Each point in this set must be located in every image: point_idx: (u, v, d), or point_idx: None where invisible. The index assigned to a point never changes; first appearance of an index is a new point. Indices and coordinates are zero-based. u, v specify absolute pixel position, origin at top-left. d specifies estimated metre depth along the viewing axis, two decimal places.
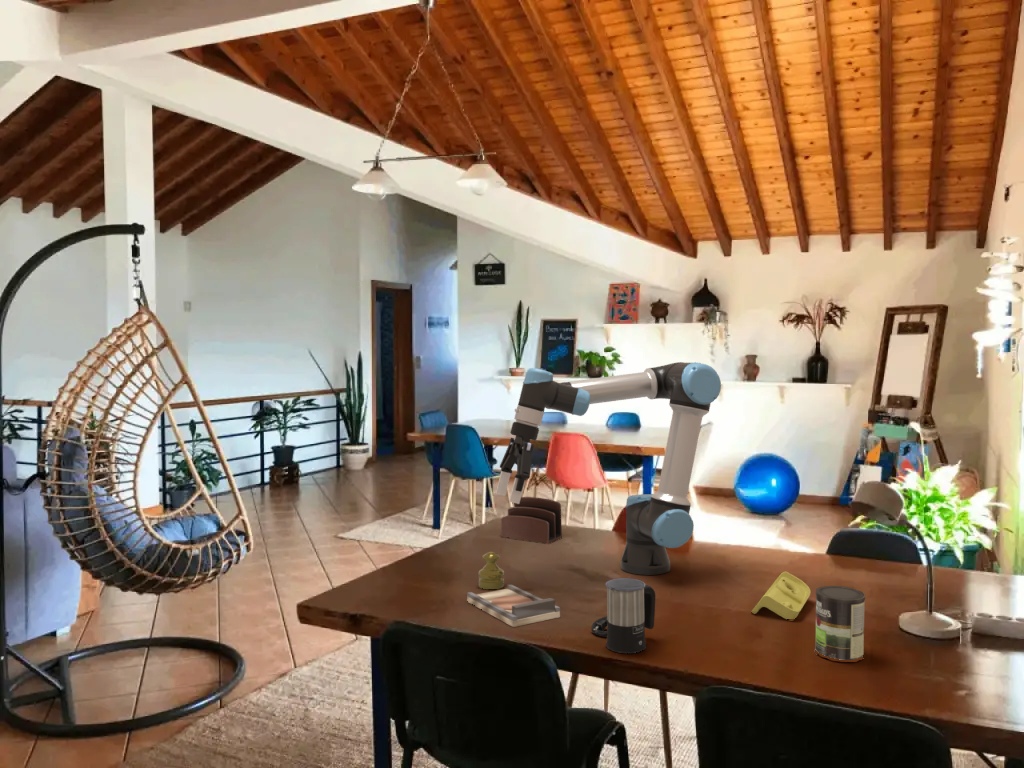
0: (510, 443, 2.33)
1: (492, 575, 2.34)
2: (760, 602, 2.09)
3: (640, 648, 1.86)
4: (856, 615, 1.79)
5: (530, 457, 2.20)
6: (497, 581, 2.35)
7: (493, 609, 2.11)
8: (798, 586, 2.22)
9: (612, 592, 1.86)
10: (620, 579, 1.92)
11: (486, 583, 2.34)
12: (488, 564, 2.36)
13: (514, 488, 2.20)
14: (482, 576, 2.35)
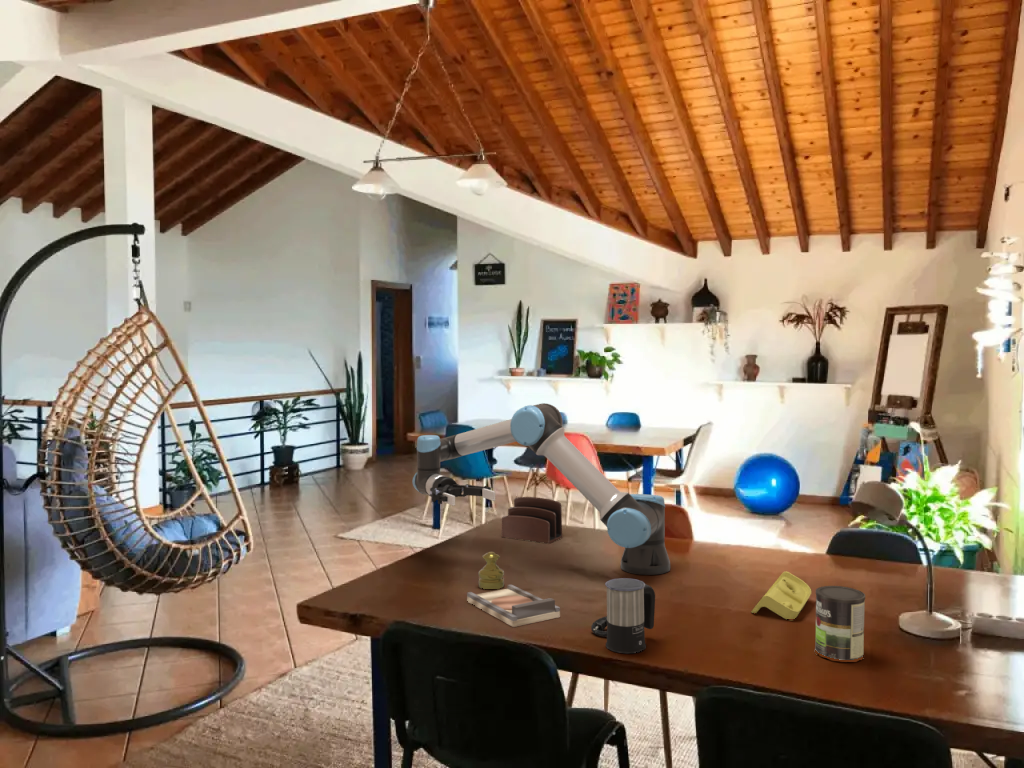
0: None
1: (492, 575, 2.34)
2: (760, 602, 2.10)
3: (639, 648, 1.86)
4: (856, 615, 1.79)
5: (431, 491, 2.51)
6: (497, 581, 2.35)
7: (493, 609, 2.11)
8: (799, 586, 2.22)
9: (612, 592, 1.86)
10: (620, 579, 1.92)
11: (486, 583, 2.34)
12: (488, 564, 2.36)
13: (447, 502, 2.44)
14: (482, 576, 2.35)
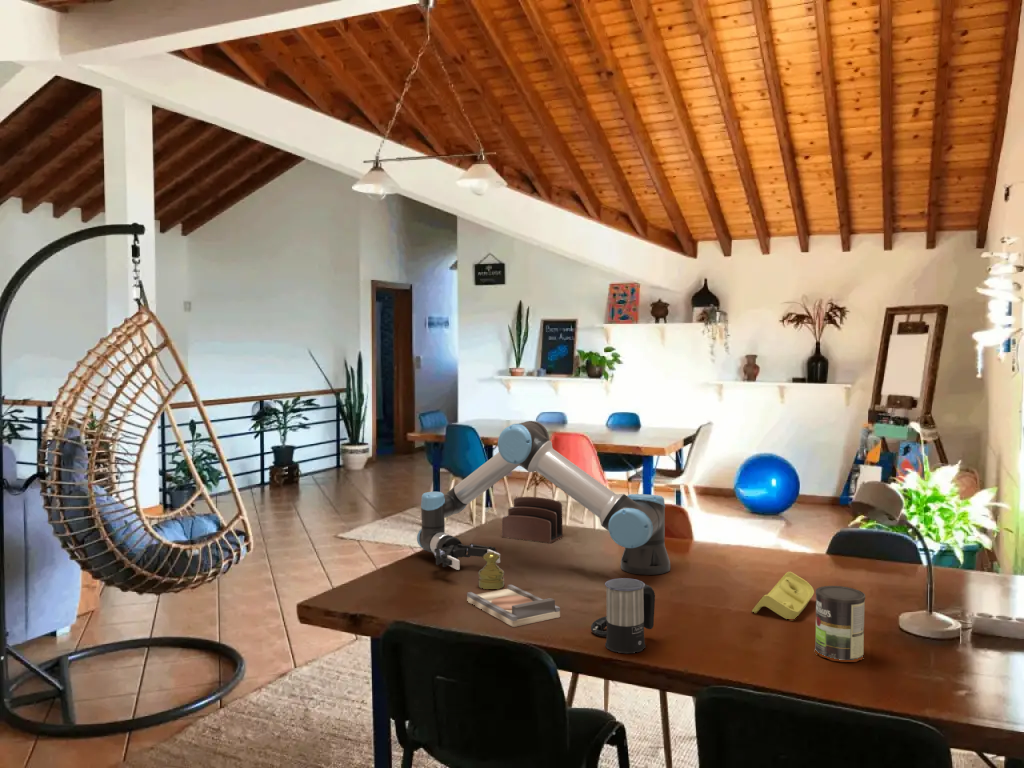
0: None
1: (492, 575, 2.34)
2: (760, 601, 2.10)
3: (639, 648, 1.86)
4: (856, 615, 1.79)
5: (436, 553, 2.50)
6: (497, 581, 2.35)
7: (493, 609, 2.11)
8: (802, 586, 2.21)
9: (612, 592, 1.86)
10: (619, 579, 1.93)
11: (486, 583, 2.34)
12: (488, 564, 2.36)
13: (451, 565, 2.42)
14: (482, 576, 2.35)
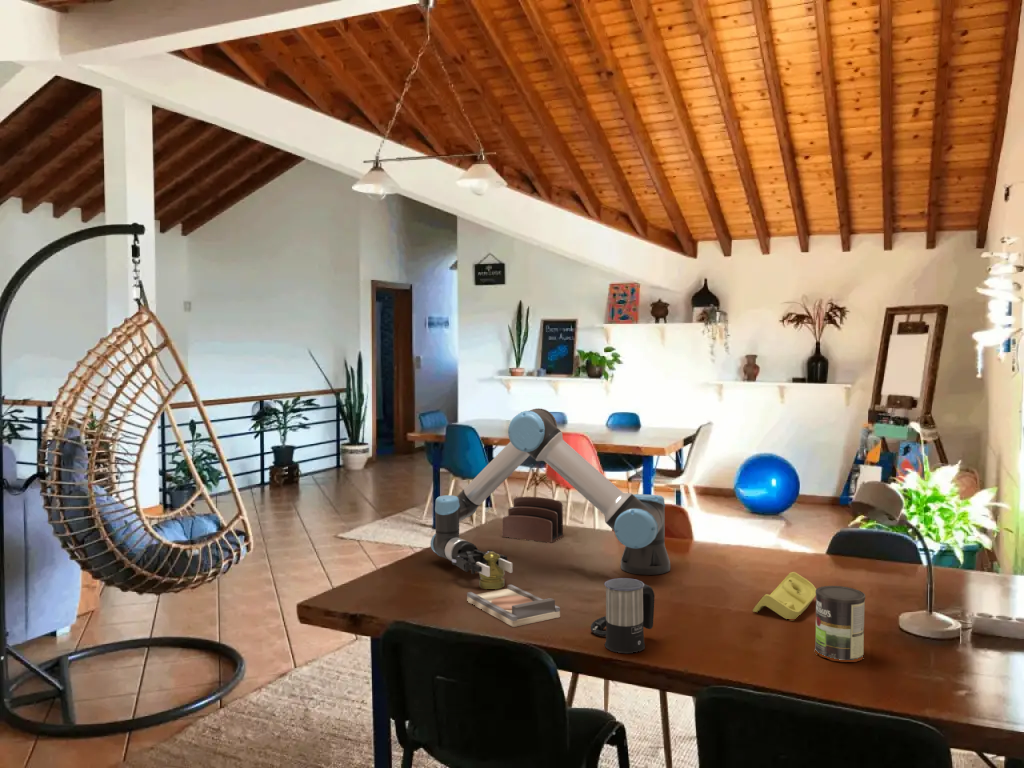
0: None
1: (492, 575, 2.34)
2: (761, 601, 2.10)
3: (638, 648, 1.86)
4: (856, 615, 1.79)
5: (458, 559, 2.41)
6: (498, 581, 2.35)
7: (493, 609, 2.11)
8: (805, 587, 2.21)
9: (611, 592, 1.86)
10: (619, 579, 1.93)
11: (486, 583, 2.34)
12: (488, 563, 2.36)
13: (481, 572, 2.34)
14: (483, 576, 2.35)
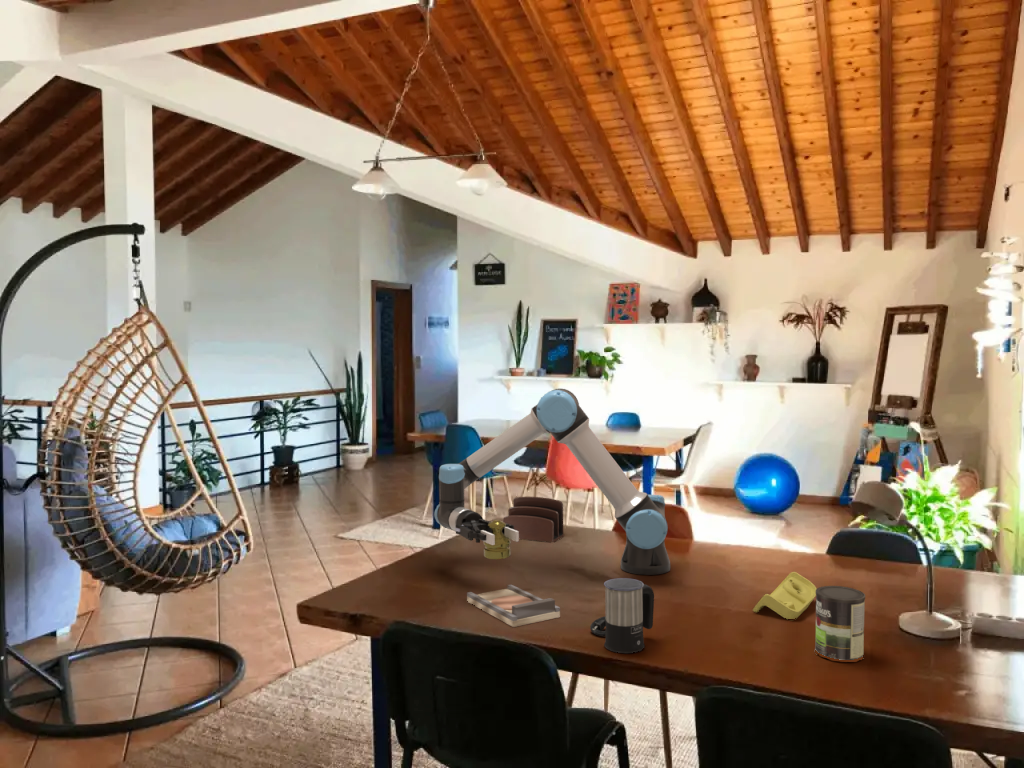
0: None
1: (498, 544, 2.22)
2: (761, 601, 2.10)
3: (638, 648, 1.86)
4: (856, 615, 1.79)
5: (462, 528, 2.29)
6: (503, 550, 2.23)
7: (493, 609, 2.11)
8: (806, 587, 2.21)
9: (610, 592, 1.86)
10: (619, 579, 1.93)
11: (491, 552, 2.22)
12: (493, 532, 2.24)
13: (485, 541, 2.22)
14: (487, 545, 2.23)
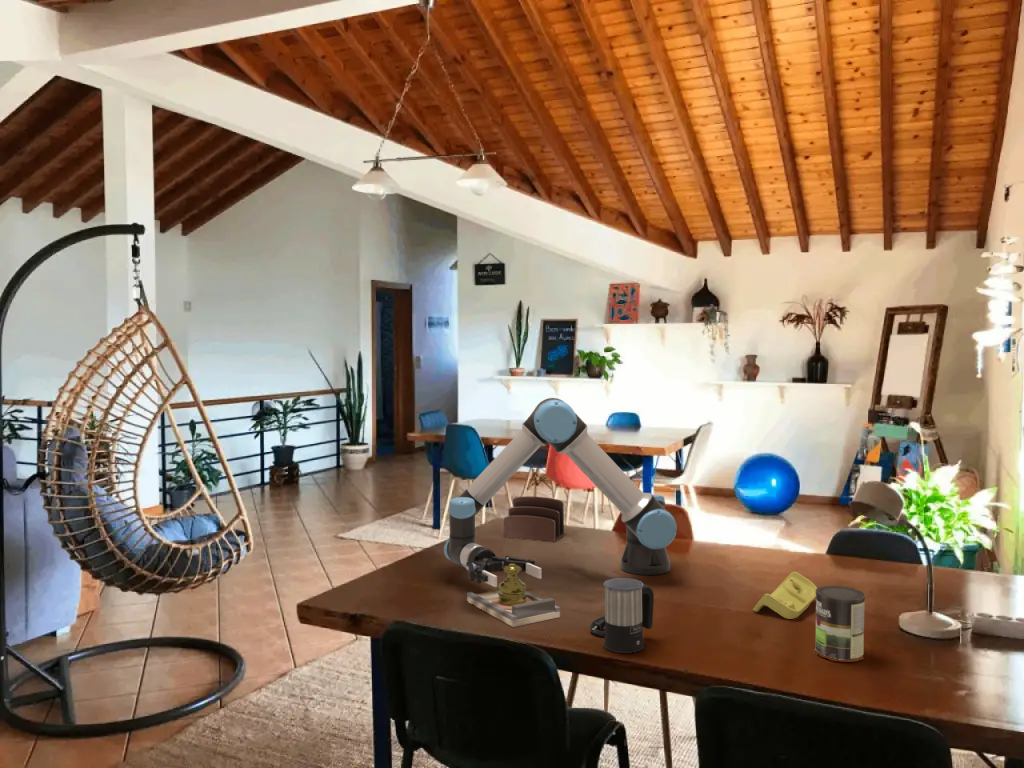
0: None
1: (513, 590, 2.13)
2: (761, 600, 2.11)
3: (637, 648, 1.86)
4: (856, 615, 1.79)
5: (468, 567, 2.21)
6: (519, 596, 2.15)
7: (493, 609, 2.11)
8: (806, 587, 2.21)
9: (610, 592, 1.86)
10: (618, 579, 1.93)
11: (507, 598, 2.14)
12: (509, 577, 2.16)
13: (487, 582, 2.13)
14: (502, 590, 2.14)
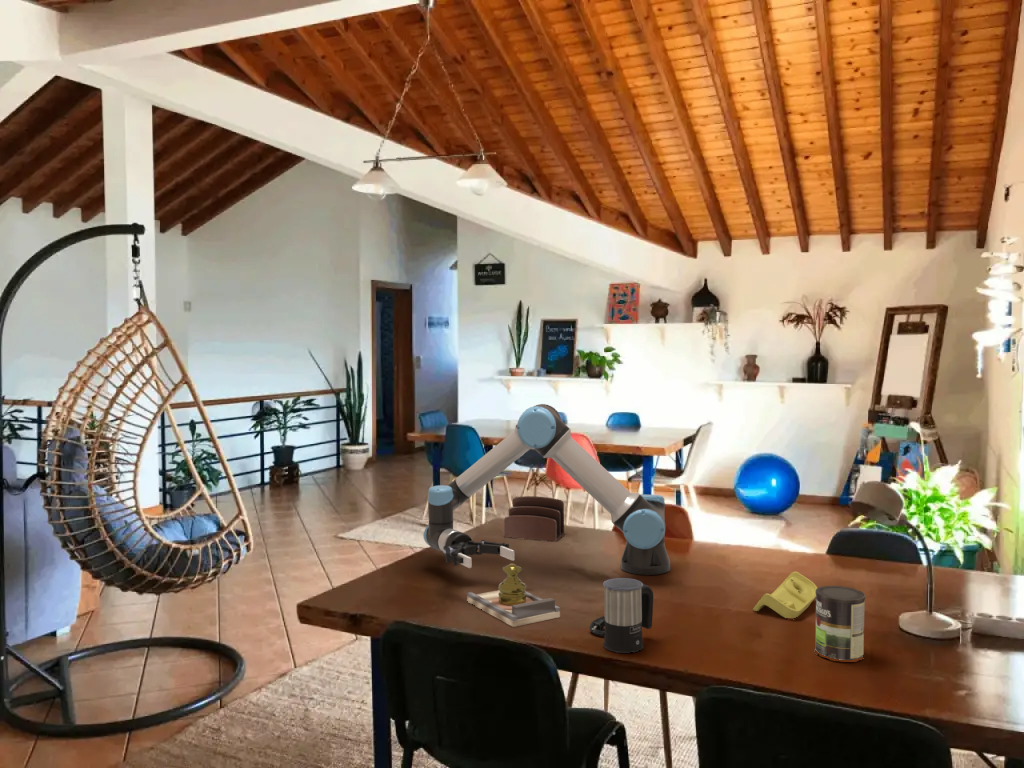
0: None
1: (513, 590, 2.13)
2: (761, 600, 2.11)
3: (637, 648, 1.87)
4: (856, 615, 1.79)
5: (445, 550, 2.33)
6: (519, 596, 2.15)
7: (493, 609, 2.11)
8: (807, 586, 2.21)
9: (609, 592, 1.86)
10: (618, 579, 1.93)
11: (507, 598, 2.14)
12: (509, 577, 2.16)
13: (462, 564, 2.26)
14: (502, 590, 2.14)
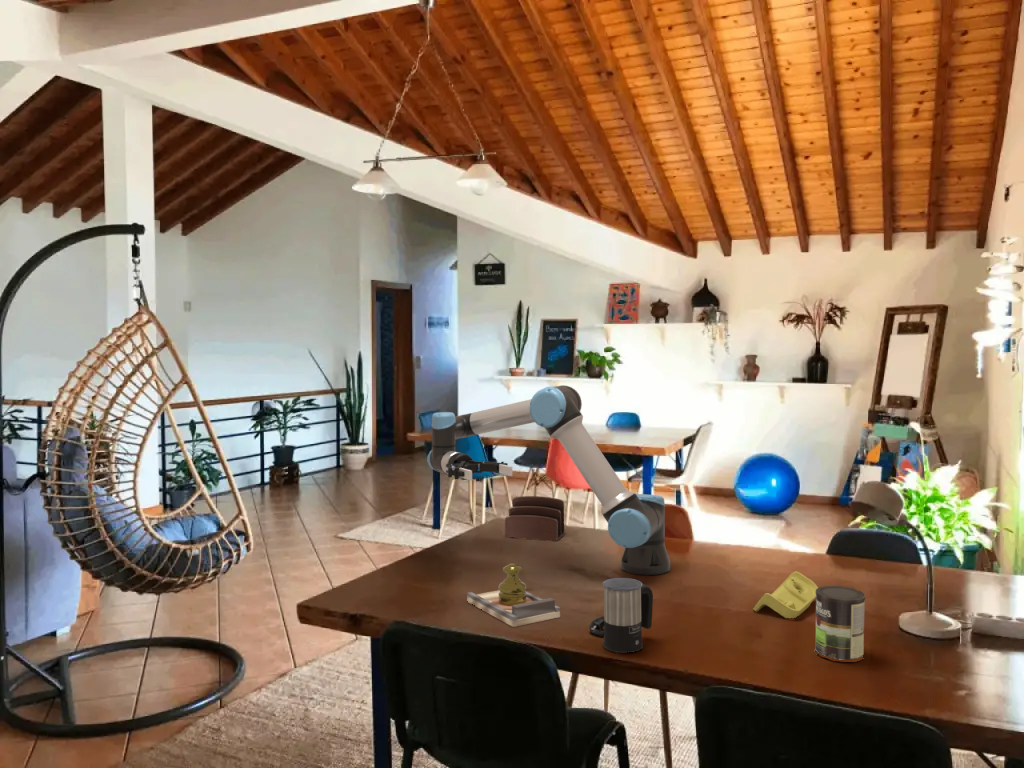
0: None
1: (514, 590, 2.13)
2: (761, 600, 2.11)
3: (636, 648, 1.87)
4: (856, 615, 1.79)
5: (447, 467, 2.48)
6: (519, 596, 2.15)
7: (493, 609, 2.11)
8: (807, 586, 2.21)
9: (609, 592, 1.87)
10: (617, 579, 1.93)
11: (507, 598, 2.14)
12: (509, 577, 2.16)
13: (463, 477, 2.40)
14: (503, 590, 2.14)
